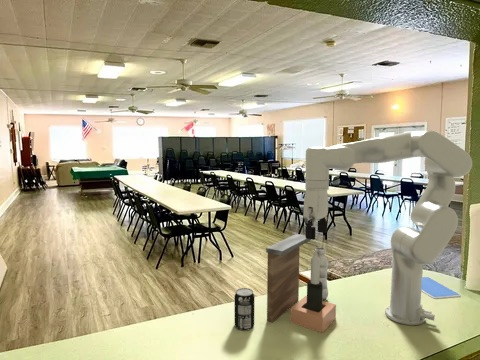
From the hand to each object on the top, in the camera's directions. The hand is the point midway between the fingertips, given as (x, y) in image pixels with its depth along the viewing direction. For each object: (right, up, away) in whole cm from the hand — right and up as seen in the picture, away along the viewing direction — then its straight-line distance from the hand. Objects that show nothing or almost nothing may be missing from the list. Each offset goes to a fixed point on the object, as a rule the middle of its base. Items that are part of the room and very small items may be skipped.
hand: (316, 235), depth 118 cm
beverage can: (-24, -30, -1) cm, 39 cm away
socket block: (0, -30, +3) cm, 30 cm away
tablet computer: (+55, -28, +30) cm, 68 cm away
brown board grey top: (-8, -29, +9) cm, 31 cm away
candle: (0, -30, +3) cm, 30 cm away
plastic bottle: (+5, -28, +20) cm, 35 cm away
